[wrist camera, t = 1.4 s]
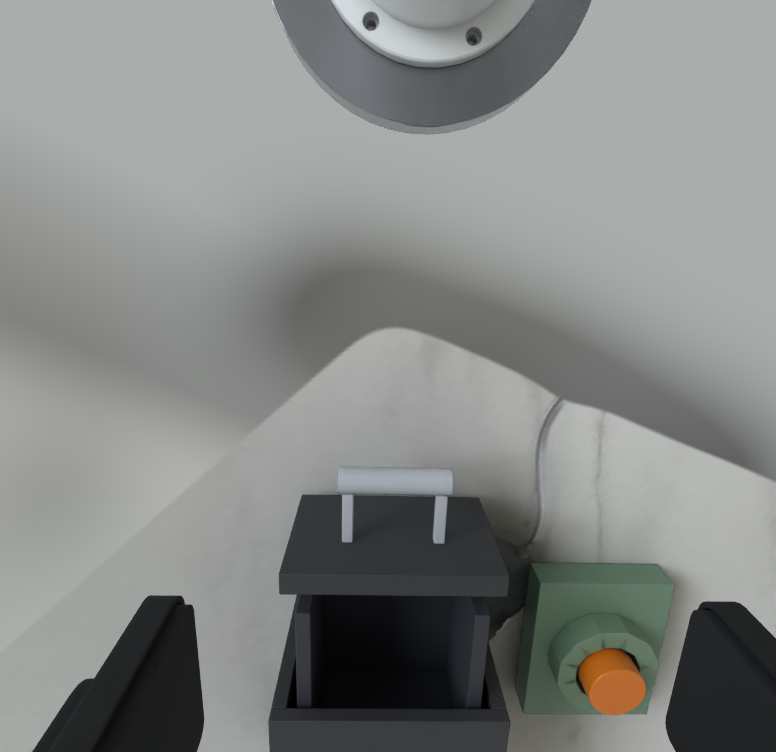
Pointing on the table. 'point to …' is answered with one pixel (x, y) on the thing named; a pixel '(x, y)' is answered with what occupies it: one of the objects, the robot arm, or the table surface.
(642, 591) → the control block
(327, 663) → the drawer
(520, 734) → the table surface
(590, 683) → the button
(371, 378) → the table surface
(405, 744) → the dark grey drawer cabinet
